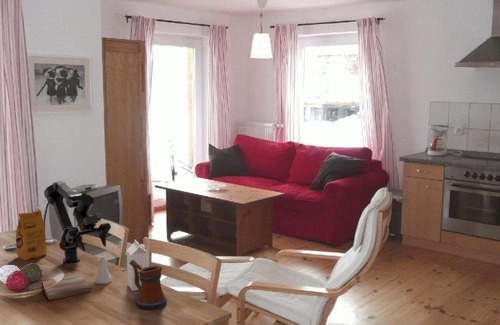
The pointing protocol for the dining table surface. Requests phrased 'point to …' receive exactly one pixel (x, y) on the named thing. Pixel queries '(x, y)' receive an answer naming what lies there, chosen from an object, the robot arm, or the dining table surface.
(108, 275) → the flask
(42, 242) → the coffee package
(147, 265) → the milk carton
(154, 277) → the mug
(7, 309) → the dining table surface
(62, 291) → the walnut board
